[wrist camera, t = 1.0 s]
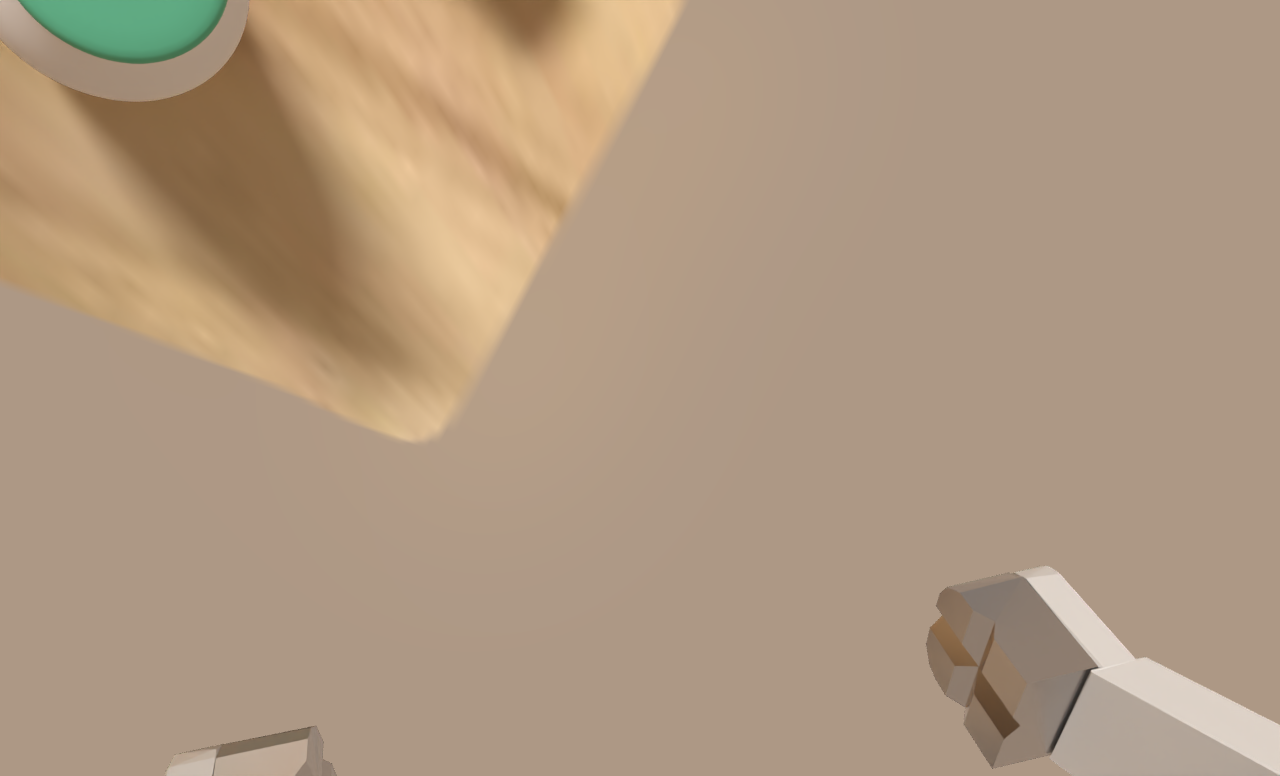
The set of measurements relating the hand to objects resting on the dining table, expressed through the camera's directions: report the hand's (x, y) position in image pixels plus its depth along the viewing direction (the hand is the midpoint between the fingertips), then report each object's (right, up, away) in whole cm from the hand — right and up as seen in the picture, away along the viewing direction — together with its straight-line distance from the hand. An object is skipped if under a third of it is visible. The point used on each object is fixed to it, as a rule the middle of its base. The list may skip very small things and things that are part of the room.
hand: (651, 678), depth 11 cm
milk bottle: (-22, +20, +23) cm, 38 cm away
